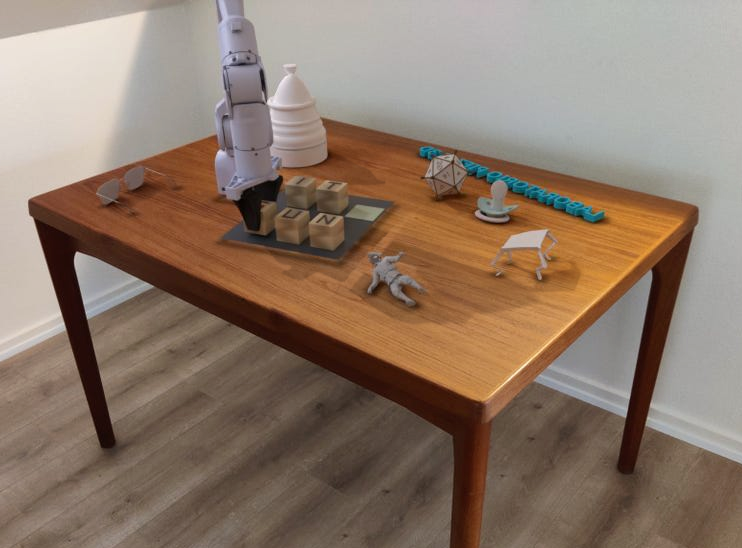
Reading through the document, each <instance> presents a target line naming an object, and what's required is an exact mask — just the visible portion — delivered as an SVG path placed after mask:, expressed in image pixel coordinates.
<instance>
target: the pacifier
mask: <svg viewBox="0 0 742 548" xmlns="http://www.w3.org/2000/svg"><path fill="white" fill-rule="evenodd" d="M507 193H508V189H507V185H506V183H505V182H503V181H501V180H498V181H495V182H494V183H491V188H490V195H491V196H492V199H490V198H489V197H485V196H480V197H479V198H478V199H477V206H478V208H479V209H477V210H476V211H475V212H474V215H475V216H476V218H478V219H480V220H482V221H485V222H489V223H494V224H495V223H499V224H500V223H507V222H509V220H510V219H511V218H510V216H509V214H510V213H512V212H514V211H516V210H517V209H518V208H519V204H513V205H506V206H505V205H504V204H505V203H504V202H505V197H506V196H507ZM484 214H486V215H484Z"/></svg>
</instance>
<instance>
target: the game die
mask: <svg viewBox="0 0 742 548" xmlns="http://www.w3.org/2000/svg"><path fill="white" fill-rule="evenodd" d="M457 153H458V149H455V150H454V151H453V153H449V155H446V154H442V156H435V157H434V156H433V154H431V153H430V156H431V157H432V160H431V159H430V163H429V165H428V167H427V169H426V172H425V174H424V176H421V177H420V178H419V180H425V182H426V183H427V185H428V186H429V187H430V188H431V190H432V191H433V193H434V194H435V197H434V200H435V201H437V200H438V199H439V197H441V196H448V195H456V194H458V196H459V197H462V196H463V195H462V192H461V190H462V188H463V186H464V183H465V182H466V179H467V176H468V175H469V174H468V173H472V172H473V171H470V170H469V171H468V170H467V169H466V168H465V166H464V165H463V164H462V162H461V161H460V160H461V159H460V158H459V156H457ZM472 174H473V173H472Z"/></svg>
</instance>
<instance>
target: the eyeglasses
mask: <svg viewBox="0 0 742 548" xmlns="http://www.w3.org/2000/svg"><path fill="white" fill-rule="evenodd" d="M145 170H147V171H150V172H153V173H156V174H159V175H161V176H164V177H166V178H168V179H170V180H171V181H172V183H174V185H175V187H176V189H178V188H179V187H178V185H177V184H176V182H175V180H174V179H173V178H172V177H170V176H168V175H165V174H163V173H160V172H157V171H155V170H153V169H150V168H148V167H145V166H144V165H138V166H135V167H134V168H131V169H129V170H128V171H127V172H126V173H125V174H124V177H122V178H121V179H118V178H113V179H110V180H109V181H106V182H104V183H103V184H102V185H100V186H99V187H98V188H97V191H96V192H95V193H96V195H97V196H98V197H99V200H100V203H101V204H102V205H109V204H110V203H112V202H115V203H117V204H120V205H123V206H125V207H126V208H127V209H128V210H129V212H130V213H131V214H132V215H134V213H133V211H132V210H131V209H130V208H129V206H127V205H126V204H124V203H122V202H119V201H117V200H116V199H118V197H119V195H120V192H122V187H123V185H122V183H120V182H121V181H122V180H124V183H125V186H126V188H127V189H128V190H129V191H132V190H135V189H137V188H139V187H141V185H143V184H144V180H145Z"/></svg>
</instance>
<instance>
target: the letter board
mask: <svg viewBox="0 0 742 548" xmlns="http://www.w3.org/2000/svg"><path fill="white" fill-rule="evenodd" d="M394 203H395V201H392V200H385V199H378V198H373V197H367V196H359V195H352V194H349V184H348V182H341V181H335V180H328V179H326V180H324V181H323V182H322V183H321V184H320V185H317V178H315V177H308V176H301V175H295V176H293V177H292V178H290V179H289V180H288V181H287V182H285V183H284V188H283V189H281V190H279V193H278V197H277V201H276V209H277V216H276V217H275V226H276V228H274V229H273V230H272V231H271V232H270V233H268V234H267V235H260V234H255V233H249V232H244V225H243V220H241V221H240V222H239V223H237V224H236V225H235V226H233V227H232V228H230V229H229V230H228V231H227V232H225V233H224V234H222V236H220V237H219V238H220V239H222V240H228V241H232V242H233V241H234V242H239V243H245V244H250V245H255V246H261V247H266V248H270V249H277V250H283V251H288V252H293V253H297V254H298V253H299V254H304V255H310V256H316V257H320V258H325V259H331V260H336V261H339V260H340V259H341V258H342V257H343V256H344V255H345V254H346V253H347V252H348V251H349V250H350V249H351V248H352V247H353V246H354V245H355V244H356V243H357V242H358V241H359V240H360V239H361V237H362V236H363V235H364V234H365V233H367V231H368V230H369V229H370V228H371V227H372V226H373V225H374V224H375V223H376V222H377V221H378V220H379V219H380V218H381V217H382V216H383V215H384V213H386V211H388V209H390V208H391V206H392V205H393V204H394Z"/></svg>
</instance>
